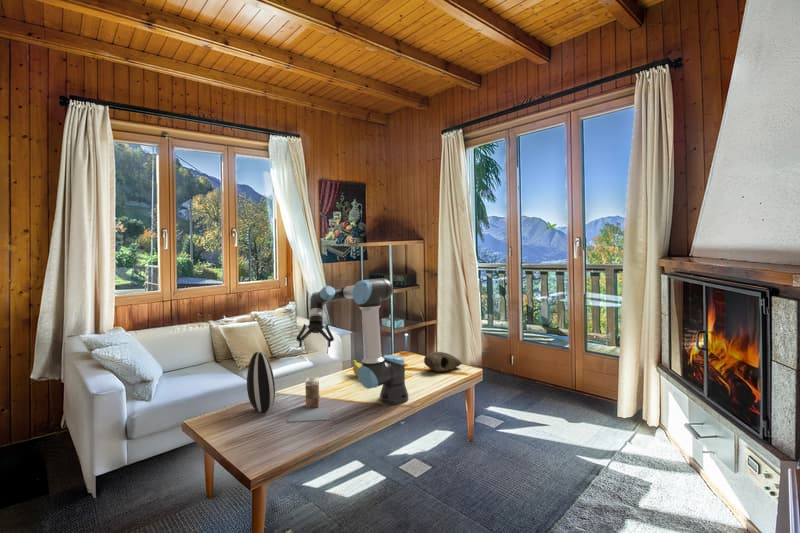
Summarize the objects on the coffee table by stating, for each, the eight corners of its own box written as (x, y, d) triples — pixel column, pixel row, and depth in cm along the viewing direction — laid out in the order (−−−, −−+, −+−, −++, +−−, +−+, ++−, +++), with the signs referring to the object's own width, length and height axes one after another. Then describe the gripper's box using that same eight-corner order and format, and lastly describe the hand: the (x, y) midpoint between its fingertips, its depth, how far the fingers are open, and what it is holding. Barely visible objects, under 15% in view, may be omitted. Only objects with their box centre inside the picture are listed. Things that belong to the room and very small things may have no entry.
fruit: (375, 386, 240) (375, 370, 239) (347, 374, 262) (346, 360, 261) (385, 383, 244) (384, 368, 244) (356, 372, 267) (356, 358, 266)
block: (319, 403, 215) (318, 377, 214) (318, 408, 209) (317, 381, 208) (307, 404, 214) (306, 378, 214) (306, 409, 209) (305, 381, 208)
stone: (448, 353, 282) (464, 357, 270) (444, 371, 280) (460, 376, 269) (421, 347, 267) (437, 351, 256) (417, 366, 266) (433, 371, 254)
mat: (332, 408, 209) (332, 407, 209) (329, 420, 195) (329, 419, 195) (291, 410, 207) (291, 409, 207) (286, 422, 193) (286, 421, 193)
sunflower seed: (281, 412, 205) (279, 352, 203) (264, 419, 197) (261, 357, 196) (259, 403, 217) (257, 347, 215) (242, 409, 209) (239, 351, 207)
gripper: (337, 321, 242) (337, 355, 230) (293, 320, 238) (291, 355, 225) (338, 315, 236) (338, 349, 224) (293, 314, 232) (290, 349, 219)
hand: (314, 352), depth 225 cm, fingers open, 13 cm apart
